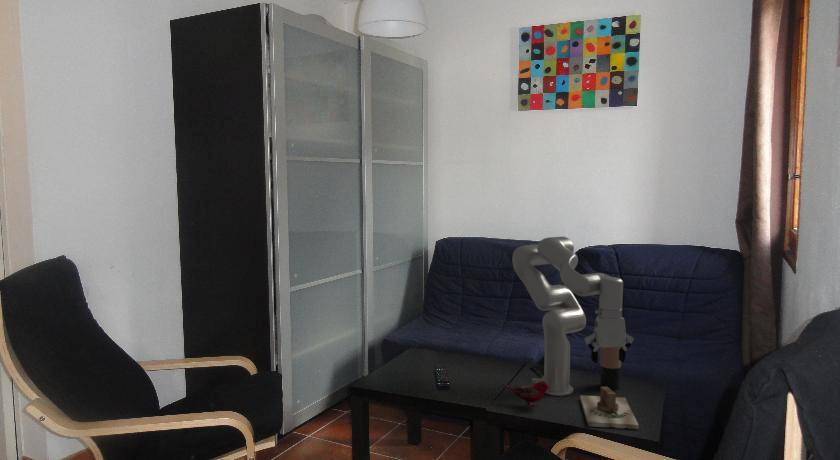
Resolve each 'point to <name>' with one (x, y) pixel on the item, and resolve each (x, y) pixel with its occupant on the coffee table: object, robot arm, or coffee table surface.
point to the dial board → (608, 414)
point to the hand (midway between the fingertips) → (608, 361)
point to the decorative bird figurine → (530, 392)
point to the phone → (538, 370)
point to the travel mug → (610, 368)
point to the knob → (607, 401)
